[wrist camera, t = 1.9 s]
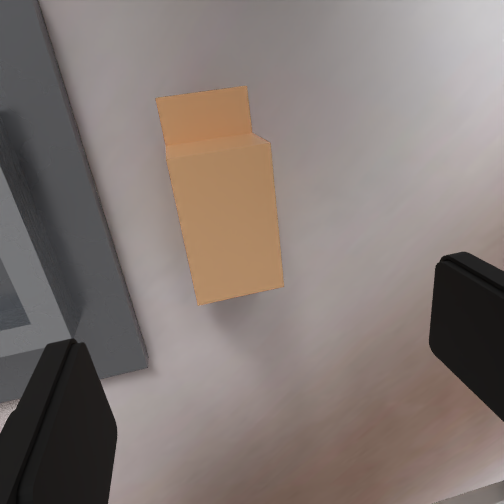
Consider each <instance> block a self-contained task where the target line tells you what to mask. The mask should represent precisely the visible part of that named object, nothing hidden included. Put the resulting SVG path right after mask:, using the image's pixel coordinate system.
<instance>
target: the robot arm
mask: <svg viewBox="0 0 504 504" xmlns="http://www.w3.org/2000/svg"><path fill="white" fill-rule="evenodd" d="M429 345H430V348H431V350H432V352H433V353H434V355H435V356H436V357H437V358H438V359H439V360H441V361H442V362H443V363H444V364H445V365H446V366H447V367H448V368H449V369H450V370H451V371H452V372H453V373H454V374H455V375H456V376H457V377H458V378H459V379H460V380H461V381H462V382H463V383H464V384H465V385H466V386H467V387H468V388H469V389H470V390H471V391H473V392H474V393H475V394H476V395H477V396H478V397H479V398H480V399H481V400H482V401H483V402H484V403H485V404H486V405H487V406H488V407H489V408H490V409H491V410H492V411H493V412H494V413H495V414H496V415H497V416H498V417H499V418H500V419H501V420H502V421H504V271H502V270H500V269H498V268H496V267H495V266H493V265H491V264H489V263H487V262H485V261H483V260H481V259H479V258H477V257H475V256H474V255H472V254H470V253H467V252H459V253H455V254H450V255H446V256H443V257H442V258H441V259H440V262H439V263H437V265H436V268H435V278H434V289H433V300H432V312H431V323H430V334H429ZM116 443H117V426H116V422H115V419H114V416H113V414H112V411H111V408H110V406H109V403H108V400H107V398H106V395H105V393H104V390H103V387H102V385H101V382H100V380H99V377H98V374H97V372H96V369H95V367H94V364H93V361H92V359H91V356H90V353H89V351H88V348H87V346H86V344H85V343H84V342H81V343H78V342H77V341H76V340H75V339H74V338H71V339H67V340H62V341H58V342H53V343H49V344H47V345H46V347H45V349H44V351H43V353H42V355H41V357H40V359H39V361H38V363H37V366H36V368H35V370H34V372H33V374H32V376H31V378H30V380H29V382H28V384H27V387H26V389H25V391H24V393H23V395H22V397H21V399H20V401H19V403H18V405H17V408H16V410H14V411H13V412H12V413H11V414H10V416H9V417H8V419H7V421H6V423H5V425H4V427H3V429H2V431H1V433H0V504H108V499H109V492H110V485H111V478H112V471H113V464H114V457H115V450H116ZM433 504H504V481H501V482H498V483H494V484H491V485H488V486H485V487H482V488H479V489H476V490H473V491H470V492H467V493H464V494H460V495H457V496H454V497H451V498H448V499H445V500H442V501H439V502H436V503H433Z"/></svg>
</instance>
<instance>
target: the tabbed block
mask: <svg viewBox="0 0 504 504" xmlns="http://www.w3.org/2000/svg"><path fill="white" fill-rule="evenodd" d="M155 99H156V103H157V108H158V113H159V117H160V122H161V127H162V131H163V136H164V141H165V145H166V161H167V166H168V170H169V175H170V179H171V184H172V189H173V193H174V198H175V202H176V207H177V212H178V216H179V221H180V225H181V230H182V235H183V239H184V244H185V248H186V253H187V258H188V262H189V267H190V271H191V276H192V281H193V285H194V290H195V294H196V299H197V304H198V306H199V305H203V304H208V303H213V302H217V301H222V300H226V299H231V298H235V297H240V296H245V295H249V294H254V293H258V292H263V291H267V290H272V289H276V288H281V287H284V281H283V271H282V260H281V250H280V239H279V228H278V218H277V207H276V197H275V186H274V176H273V165H272V155H271V144H270V142H268V141H266V140H265V139H263V138H261V137H259V136H257V135H256V134H254V133H252V127H251V118H250V109H249V100H248V91H247V86H238V87H231V88H224V89H216V90H209V91H202V92H195V93H187V94H180V95H173V96H165V97H158V98H155Z"/></svg>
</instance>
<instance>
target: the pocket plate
mask: <svg viewBox="0 0 504 504" xmlns="http://www.w3.org/2000/svg"><path fill="white" fill-rule="evenodd" d="M71 338H74V339H75V340H76V341H77V342H78V343H81V342H84V343H85V344H86V346H87V348H88V351H89V353H90V356H91V359H92V361H93V364H94V367H95V369H96V372H97V374H98V377H99V379H103V378H107V377H111V376H115V375H120V374H124V373H128V372H132V371H136V370H140V369H145V368H148V355H147V351H146V348H145V345H144V342H143V338H142V335H141V332H140V329H139V326H138V322H137V319H136V316H135V313H134V309H133V306H132V303H131V300H130V296H129V293H128V290H127V287H126V284H125V280H124V277H123V274H122V271H121V267H120V264H119V261H118V258H117V255H116V251H115V248H114V245H113V242H112V238H111V235H110V232H109V229H108V226H107V222H106V219H105V216H104V213H103V209H102V206H101V203H100V200H99V197H98V193H97V190H96V187H95V184H94V180H93V177H92V174H91V171H90V168H89V164H88V161H87V158H86V155H85V151H84V148H83V145H82V142H81V139H80V135H79V132H78V129H77V126H76V122H75V119H74V116H73V113H72V109H71V106H70V103H69V100H68V97H67V93H66V90H65V87H64V84H63V80H62V77H61V74H60V71H59V68H58V64H57V61H56V58H55V55H54V51H53V48H52V45H51V42H50V39H49V35H48V32H47V29H46V26H45V22H44V19H43V16H42V13H41V10H40V6H39V3H38V0H0V403H2V402H7V401H11V400H15V399H19V398H21V397H22V395H23V393H24V391H25V389H26V387H27V384H28V382H29V380H30V378H31V376H32V374H33V372H34V370H35V368H36V366H37V363H38V361H39V359H40V357H41V355H42V353H43V351H44V349H45V347H46V345H47V344H49V343H53V342H58V341H62V340H67V339H71Z"/></svg>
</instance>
